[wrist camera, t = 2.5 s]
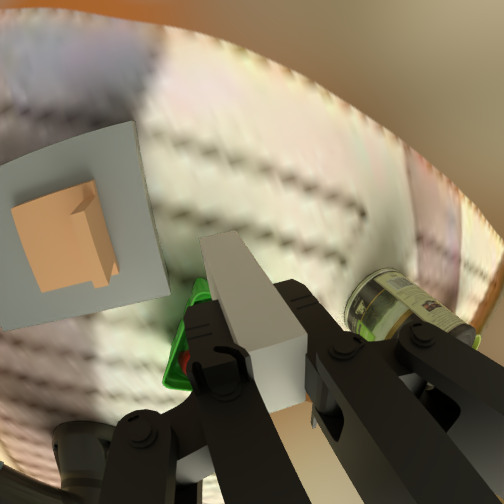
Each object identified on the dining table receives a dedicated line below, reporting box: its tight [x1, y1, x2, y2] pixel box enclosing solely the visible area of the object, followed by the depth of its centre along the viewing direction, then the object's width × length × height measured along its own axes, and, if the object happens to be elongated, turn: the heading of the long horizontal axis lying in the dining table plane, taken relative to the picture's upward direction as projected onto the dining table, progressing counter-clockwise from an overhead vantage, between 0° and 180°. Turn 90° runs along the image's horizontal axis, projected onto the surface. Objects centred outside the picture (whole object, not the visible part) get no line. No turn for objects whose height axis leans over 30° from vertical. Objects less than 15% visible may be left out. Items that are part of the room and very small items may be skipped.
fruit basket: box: [162, 278, 213, 391], centre depth 25 cm, size 11×9×11 cm
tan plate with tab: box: [11, 179, 120, 293], centre depth 17 cm, size 7×7×4 cm
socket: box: [0, 121, 171, 331], centre depth 20 cm, size 14×18×3 cm
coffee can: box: [344, 268, 476, 386], centre depth 31 cm, size 10×10×14 cm
